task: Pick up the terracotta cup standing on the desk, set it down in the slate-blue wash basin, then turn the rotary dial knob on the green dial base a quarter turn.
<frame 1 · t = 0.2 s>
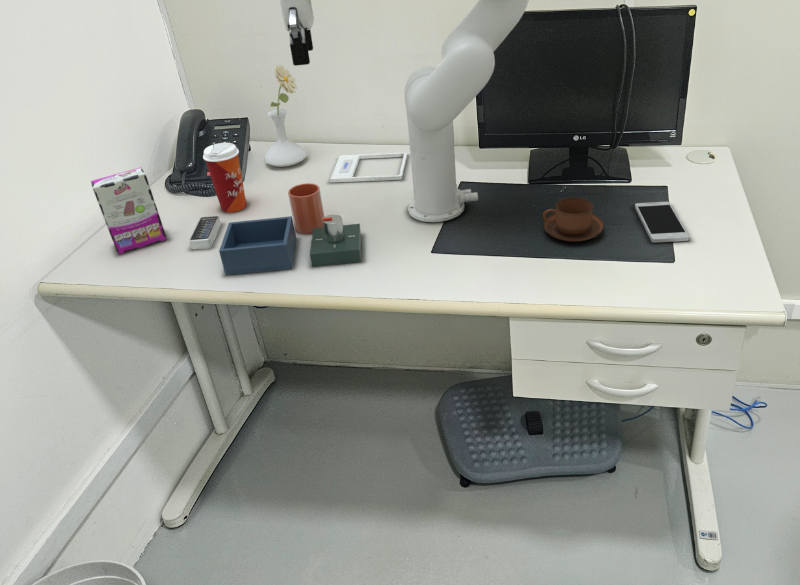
hand: (303, 57, 140), 37 cm above the table, tool pointing down, fingers open, 9 cm apart
green dial base: (337, 250, 149), on the table
smartphone: (660, 223, 146), on the table
flower in vase: (289, 161, 191), on the table
multiport hub: (206, 237, 159), on the table
coffee cup: (234, 207, 171), on the table
cup: (310, 226, 159), on the table
cup and saucer: (573, 233, 146), on the table
photo frame: (370, 169, 182), on the table
candy bar box: (141, 244, 160), on the table
basin: (262, 257, 149), on the table
rotary dial knob: (333, 228, 146), point 5 cm above the table, hinge at 0.0°
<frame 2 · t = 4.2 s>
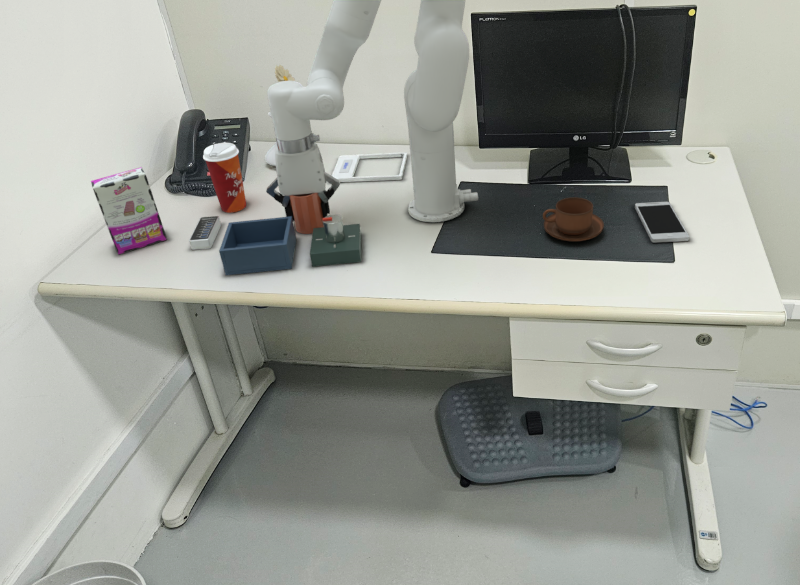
hand: (308, 217, 158), 2 cm above the table, tool pointing down, fingers closed on cup, 6 cm apart
cup: (310, 226, 159), on the table, touching gripper
everything else where it was.
when the fingers open (3 cm above the table, at t = 12.5 s): cup stays where it is, resting on basin.
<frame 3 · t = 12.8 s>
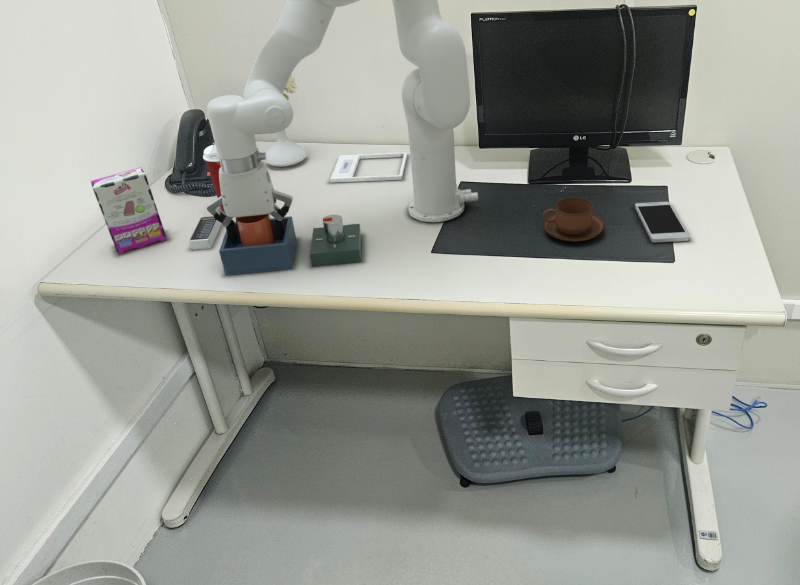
hand: (258, 237, 147), 5 cm above the table, tool pointing down, fingers open, 9 cm apart
cup: (261, 253, 149), point 1 cm above the table, touching basin
everything else where it was.
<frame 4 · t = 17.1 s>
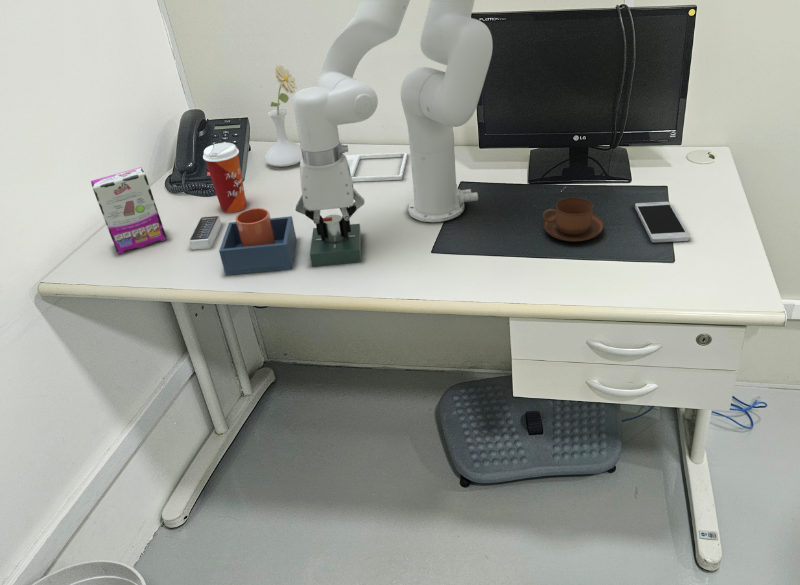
hand: (334, 235, 147), 4 cm above the table, tool pointing down, fingers closed on rotary dial knob, 4 cm apart
rotary dial knob: (333, 228, 146), point 5 cm above the table, hinge at -0.1°, touching gripper
everything else where it was.
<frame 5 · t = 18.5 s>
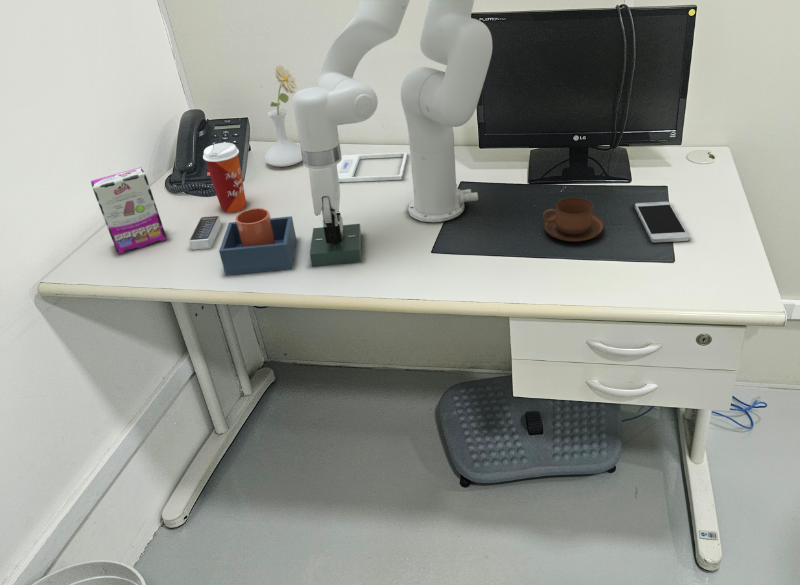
hand: (334, 235, 147), 4 cm above the table, tool pointing down, fingers open, 4 cm apart
rotary dial knob: (333, 228, 146), point 5 cm above the table, hinge at 91.5°
everything else where it was.
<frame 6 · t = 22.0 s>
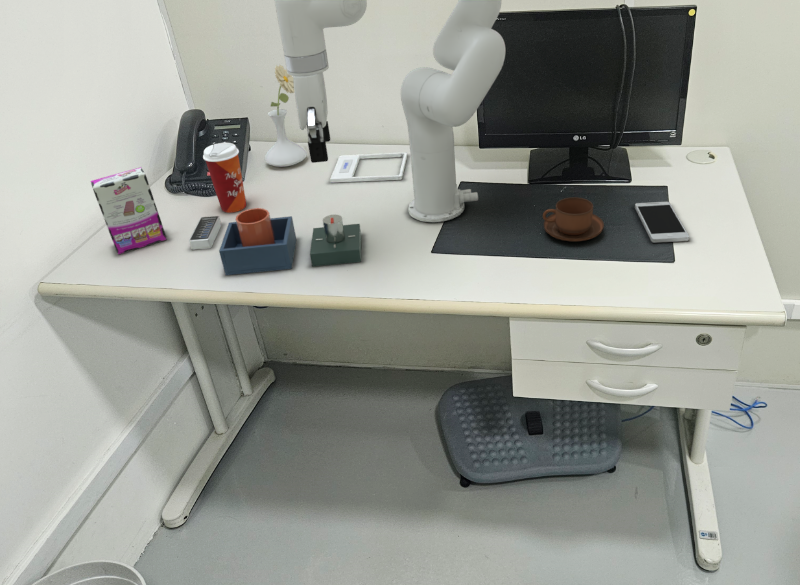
hand: (321, 151, 136), 22 cm above the table, tool pointing down, fingers open, 9 cm apart
rotary dial knob: (333, 228, 146), point 5 cm above the table, hinge at 91.9°
everything else where it was.
at the end: cup inside the target area in the basin (0.1 cm from its centre), point 0.8 cm above the basin's base; cup tilted 0°; rotary dial knob at +92° (first picture: +0°) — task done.
